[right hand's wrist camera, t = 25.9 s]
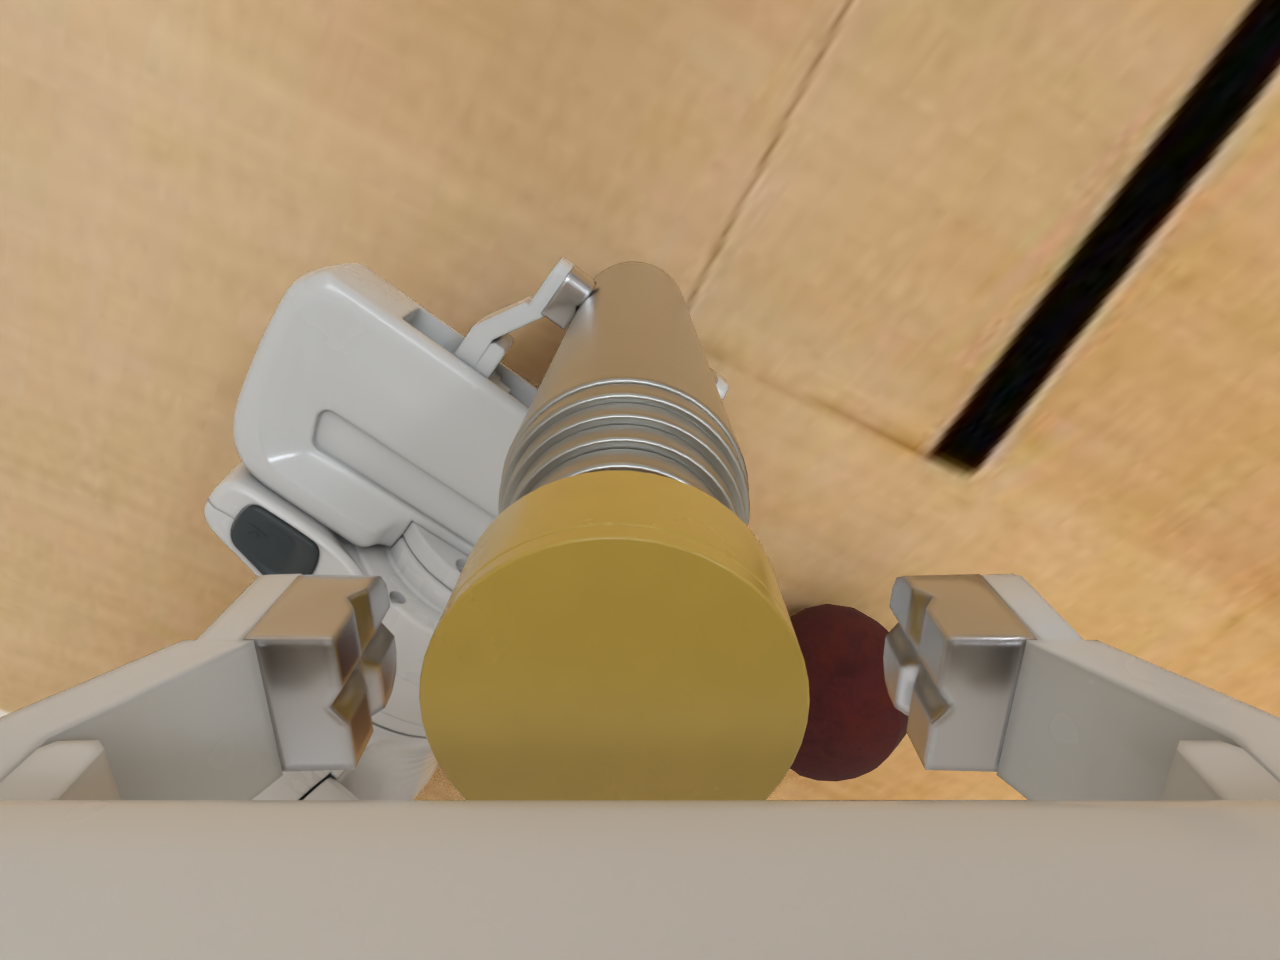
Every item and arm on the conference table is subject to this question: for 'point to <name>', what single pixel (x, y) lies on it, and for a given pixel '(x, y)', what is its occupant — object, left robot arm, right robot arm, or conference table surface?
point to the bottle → (629, 397)
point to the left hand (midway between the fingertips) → (646, 321)
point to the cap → (615, 651)
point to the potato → (845, 695)
